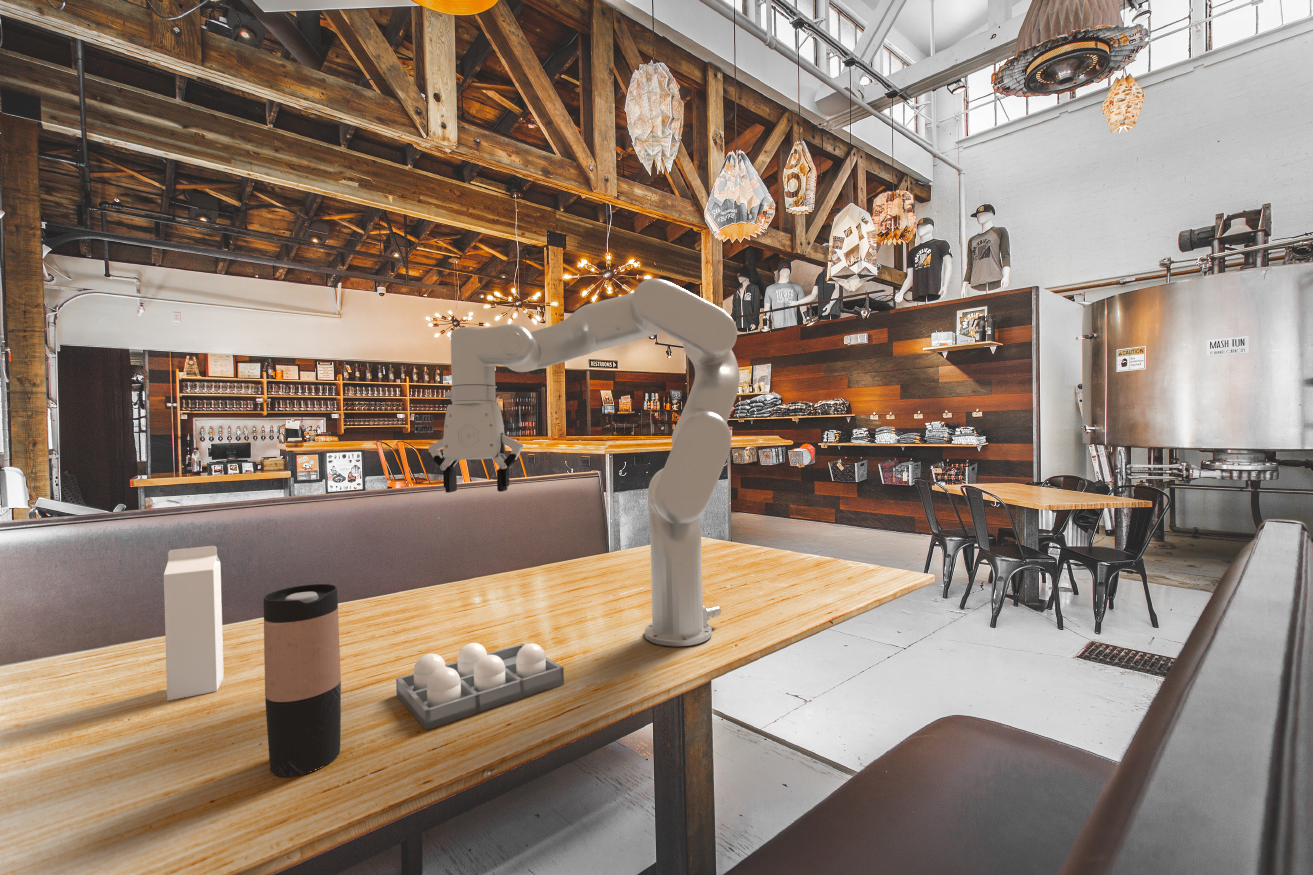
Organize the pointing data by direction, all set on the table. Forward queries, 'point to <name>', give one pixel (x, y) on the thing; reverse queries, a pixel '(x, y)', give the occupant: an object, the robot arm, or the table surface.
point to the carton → (479, 683)
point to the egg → (426, 669)
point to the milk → (193, 622)
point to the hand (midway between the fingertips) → (476, 491)
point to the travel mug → (302, 678)
